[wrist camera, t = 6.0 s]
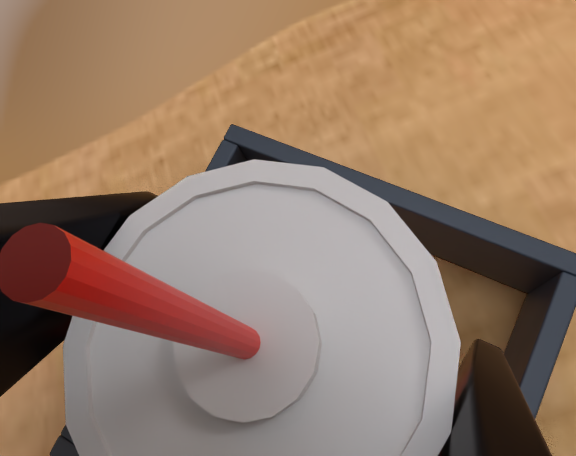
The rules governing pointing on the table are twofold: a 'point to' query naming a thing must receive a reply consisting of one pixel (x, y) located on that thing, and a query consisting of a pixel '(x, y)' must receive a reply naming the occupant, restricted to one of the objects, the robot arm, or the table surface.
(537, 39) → the table surface
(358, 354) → the beverage cup
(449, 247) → the box
